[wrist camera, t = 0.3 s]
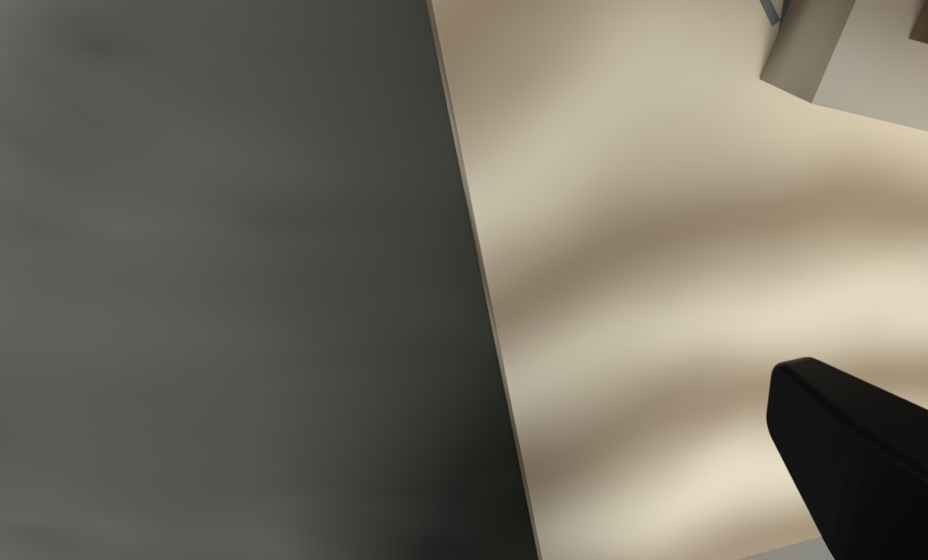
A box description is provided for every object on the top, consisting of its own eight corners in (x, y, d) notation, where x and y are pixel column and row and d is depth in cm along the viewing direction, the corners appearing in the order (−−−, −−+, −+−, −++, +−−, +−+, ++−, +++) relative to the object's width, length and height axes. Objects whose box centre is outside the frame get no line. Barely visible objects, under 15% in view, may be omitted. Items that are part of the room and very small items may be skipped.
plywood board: (962, 464, 31) (991, 491, 30) (542, 576, 30) (552, 609, 29) (1084, -363, 19) (1142, -380, 18) (382, -216, 18) (387, -223, 17)
